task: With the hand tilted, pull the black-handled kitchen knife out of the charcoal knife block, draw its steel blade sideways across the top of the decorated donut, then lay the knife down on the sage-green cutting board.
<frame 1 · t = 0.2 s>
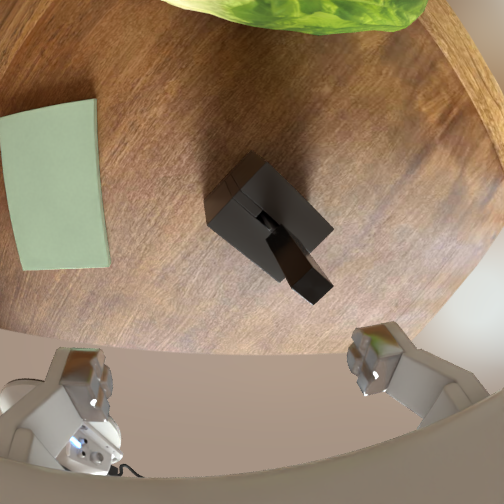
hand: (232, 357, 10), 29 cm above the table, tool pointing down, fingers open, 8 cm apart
knife block: (257, 202, 38), on the table
knife: (259, 205, 37), point 1 cm above the table, touching knife block
cutting board: (52, 189, 32), on the table
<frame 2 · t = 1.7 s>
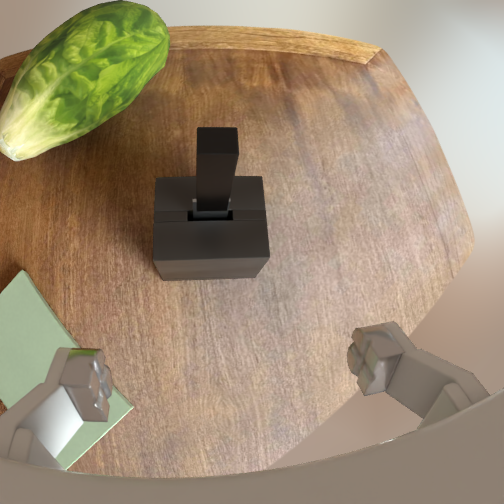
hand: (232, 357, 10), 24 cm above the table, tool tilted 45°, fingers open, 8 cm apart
knife block: (207, 244, 36), on the table
knife: (208, 241, 35), point 1 cm above the table, touching knife block
cutting board: (38, 373, 28), on the table
lettuce: (91, 115, 39), on the table
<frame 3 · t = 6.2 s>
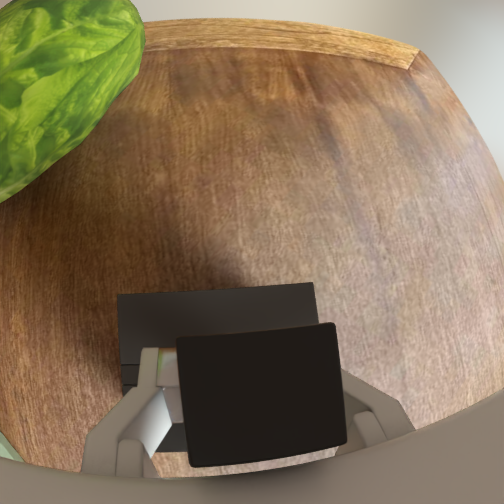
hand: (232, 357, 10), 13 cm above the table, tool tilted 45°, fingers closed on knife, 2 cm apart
knife block: (217, 366, 22), on the table
knife: (218, 366, 21), point 1 cm above the table, touching gripper, knife block
lettuce: (40, 152, 26), on the table
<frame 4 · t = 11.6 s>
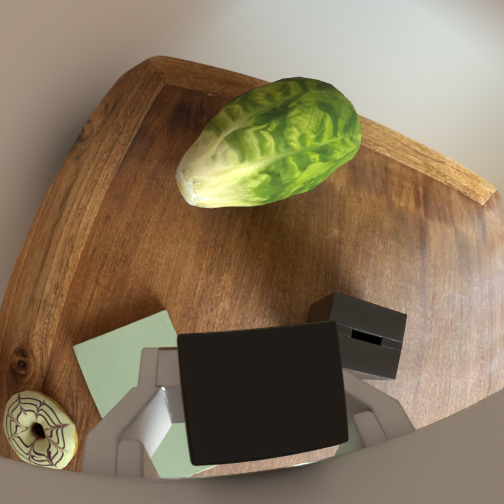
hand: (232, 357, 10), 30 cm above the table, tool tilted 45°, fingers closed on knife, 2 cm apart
knife block: (337, 343, 41), on the table
knife: (218, 366, 21), point 17 cm above the table, touching gripper
cutting board: (151, 404, 34), on the table
decorated donut: (46, 428, 30), on the table
lettuce: (260, 177, 47), on the table
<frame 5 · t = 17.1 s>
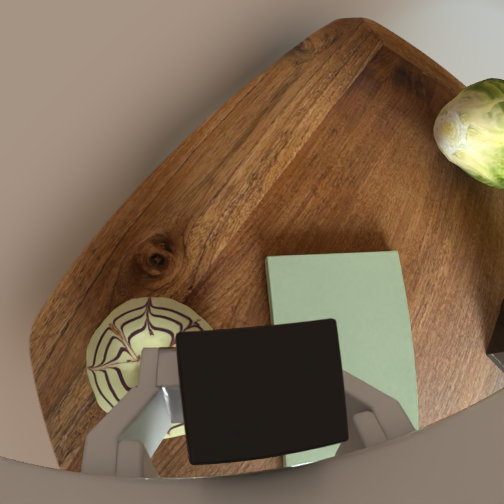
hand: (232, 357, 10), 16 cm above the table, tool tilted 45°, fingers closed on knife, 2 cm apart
knife: (218, 365, 21), point 4 cm above the table, touching gripper
cutting board: (347, 366, 26), on the table
decorated donut: (160, 368, 24), on the table
lettuce: (471, 164, 38), on the table
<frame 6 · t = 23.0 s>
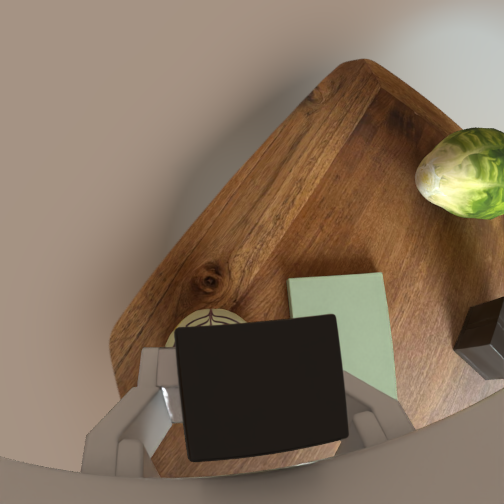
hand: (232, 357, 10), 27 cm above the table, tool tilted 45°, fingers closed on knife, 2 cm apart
knife block: (478, 344, 40), on the table
knife: (217, 364, 21), point 15 cm above the table, touching gripper
cutting board: (344, 355, 37), on the table
decorated donut: (214, 358, 36), on the table
lettuce: (450, 195, 49), on the table
when the fingers open (13 cm above the table, at t = 28.1 s): knife stays where it is, resting on cutting board.
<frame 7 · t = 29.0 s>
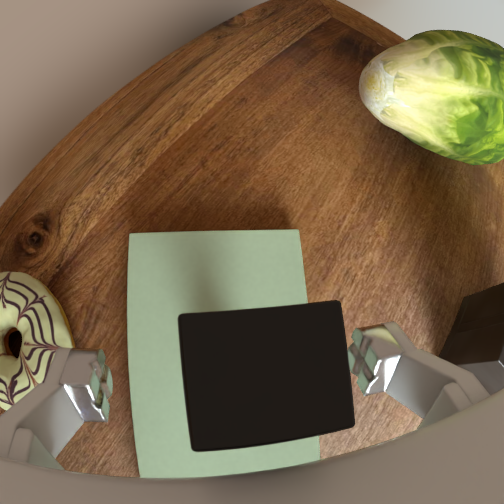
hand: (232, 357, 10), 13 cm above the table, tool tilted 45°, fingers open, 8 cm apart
knife block: (478, 356, 25), on the table
knife: (219, 362, 21), point 1 cm above the table, touching cutting board
cutting board: (221, 367, 22), on the table
decorated donut: (27, 346, 20), on the table
lettuce: (428, 136, 33), on the table
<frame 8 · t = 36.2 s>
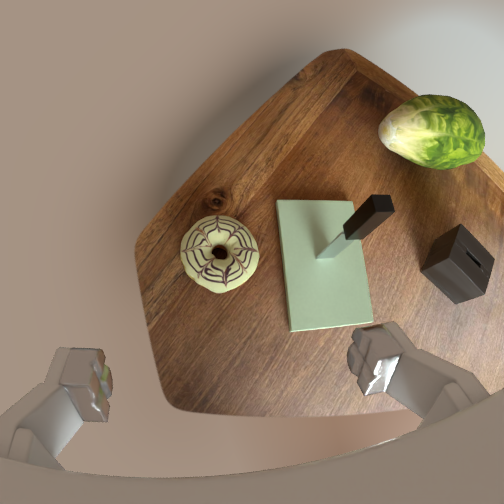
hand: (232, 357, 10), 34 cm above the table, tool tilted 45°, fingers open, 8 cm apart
knife block: (445, 271, 52), on the table
knife: (325, 257, 48), point 1 cm above the table, touching cutting board
cutting board: (323, 262, 49), on the table
decorated donut: (218, 258, 47), on the table
lettuce: (414, 153, 60), on the table
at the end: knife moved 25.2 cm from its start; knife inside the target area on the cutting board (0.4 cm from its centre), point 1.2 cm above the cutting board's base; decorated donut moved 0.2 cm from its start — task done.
